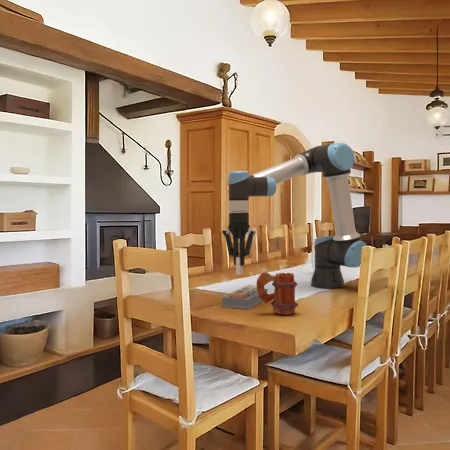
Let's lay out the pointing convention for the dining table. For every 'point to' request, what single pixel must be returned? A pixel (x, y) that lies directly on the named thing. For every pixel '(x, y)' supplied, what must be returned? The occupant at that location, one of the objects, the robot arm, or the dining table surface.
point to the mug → (279, 292)
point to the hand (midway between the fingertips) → (239, 274)
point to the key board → (242, 301)
